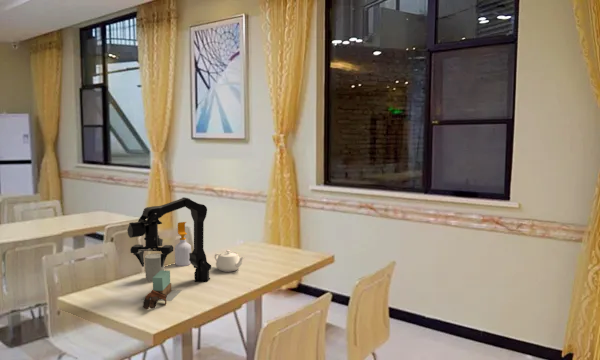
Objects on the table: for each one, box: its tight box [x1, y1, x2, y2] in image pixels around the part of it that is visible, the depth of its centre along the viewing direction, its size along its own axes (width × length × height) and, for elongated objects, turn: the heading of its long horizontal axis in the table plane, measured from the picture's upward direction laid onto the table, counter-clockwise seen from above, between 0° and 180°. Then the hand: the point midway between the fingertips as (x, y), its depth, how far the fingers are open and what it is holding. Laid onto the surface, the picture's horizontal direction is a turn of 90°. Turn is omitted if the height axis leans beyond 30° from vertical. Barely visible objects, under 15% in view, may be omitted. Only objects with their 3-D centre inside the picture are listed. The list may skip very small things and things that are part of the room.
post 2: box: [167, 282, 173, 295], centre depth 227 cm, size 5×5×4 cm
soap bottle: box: [174, 221, 192, 267], centre depth 274 cm, size 9×9×25 cm
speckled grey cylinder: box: [144, 252, 165, 282], centre depth 248 cm, size 10×10×12 cm
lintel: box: [152, 269, 171, 291], centre depth 223 cm, size 11×4×6 cm, turn 178°
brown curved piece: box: [142, 289, 167, 310], centre depth 210 cm, size 12×10×8 cm
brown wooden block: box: [158, 287, 167, 299], centre depth 221 cm, size 5×5×4 cm
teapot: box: [214, 249, 245, 273], centre depth 264 cm, size 22×14×11 cm, turn 55°
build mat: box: [141, 289, 182, 302], centre depth 224 cm, size 14×14×1 cm
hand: (152, 266), depth 227 cm, fingers open, 9 cm apart
